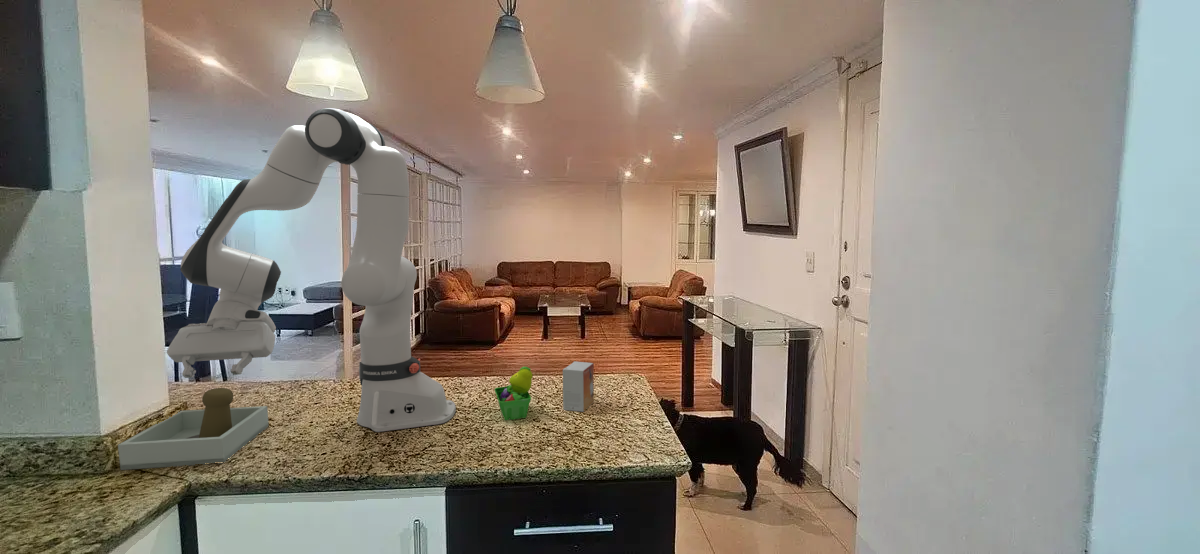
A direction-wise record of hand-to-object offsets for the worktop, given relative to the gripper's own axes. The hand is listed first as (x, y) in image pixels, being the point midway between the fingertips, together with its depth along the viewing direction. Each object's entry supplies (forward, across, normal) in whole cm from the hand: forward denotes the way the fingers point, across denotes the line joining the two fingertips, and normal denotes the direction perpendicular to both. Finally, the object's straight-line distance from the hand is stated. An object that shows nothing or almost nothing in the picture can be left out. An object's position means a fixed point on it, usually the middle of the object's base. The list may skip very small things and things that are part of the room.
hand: (211, 375), depth 111 cm
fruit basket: (+8, +64, +14) cm, 66 cm away
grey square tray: (+13, -1, +6) cm, 15 cm away
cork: (+13, +2, +5) cm, 14 cm away
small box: (+7, +80, +15) cm, 82 cm away
